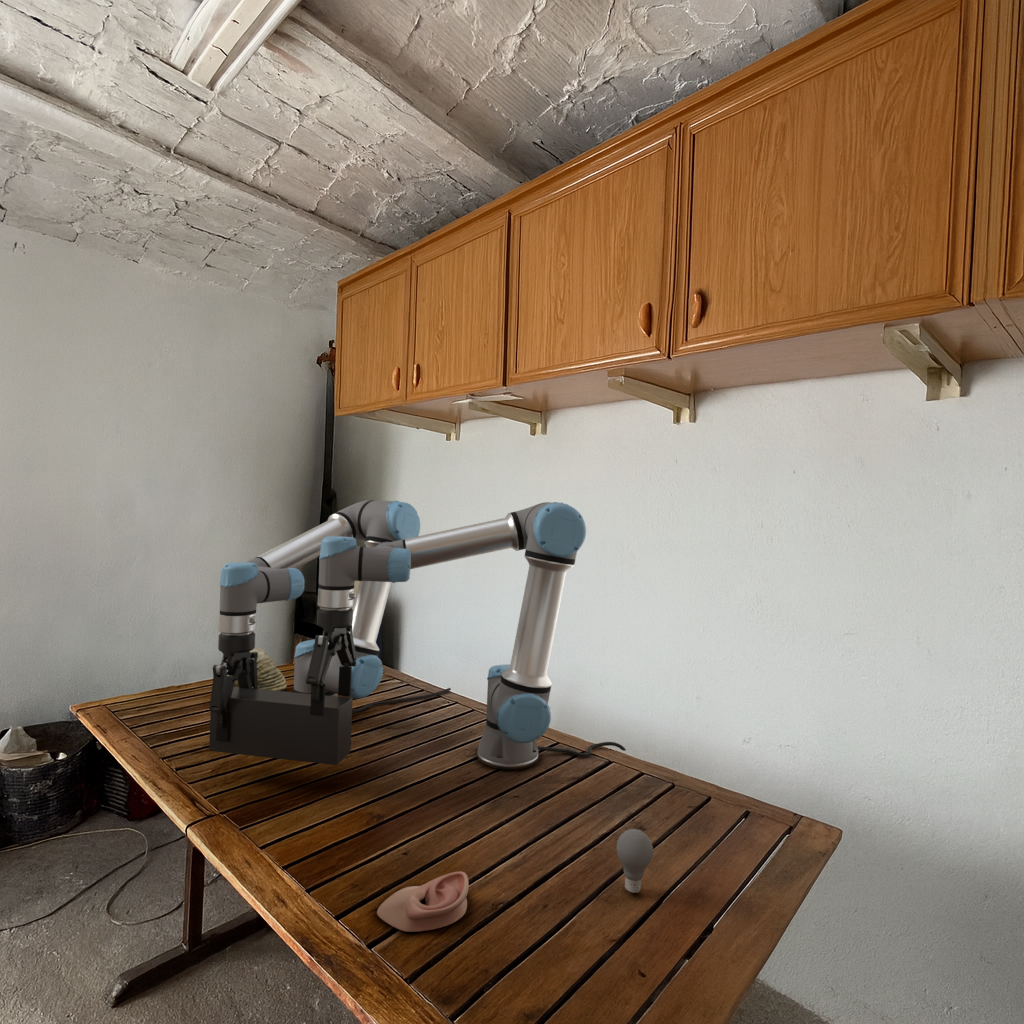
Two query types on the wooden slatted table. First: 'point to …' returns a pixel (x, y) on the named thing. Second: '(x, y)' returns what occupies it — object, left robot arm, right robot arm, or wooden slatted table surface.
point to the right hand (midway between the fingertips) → (331, 704)
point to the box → (285, 726)
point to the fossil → (267, 673)
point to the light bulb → (634, 857)
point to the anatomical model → (427, 904)
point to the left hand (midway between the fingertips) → (233, 734)
